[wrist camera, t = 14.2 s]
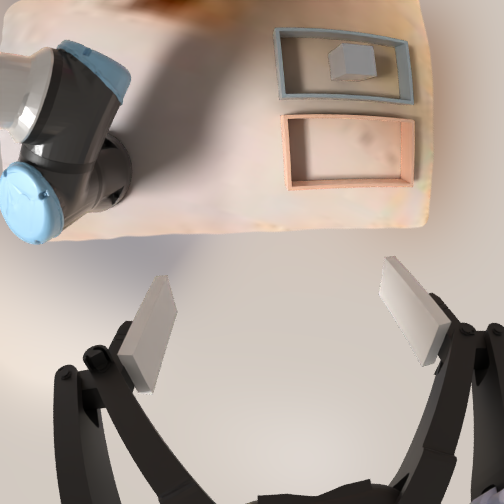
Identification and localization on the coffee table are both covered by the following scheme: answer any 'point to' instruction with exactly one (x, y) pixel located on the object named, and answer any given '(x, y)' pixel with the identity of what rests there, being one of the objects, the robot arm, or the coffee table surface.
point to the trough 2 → (404, 181)
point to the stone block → (352, 62)
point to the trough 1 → (399, 45)
